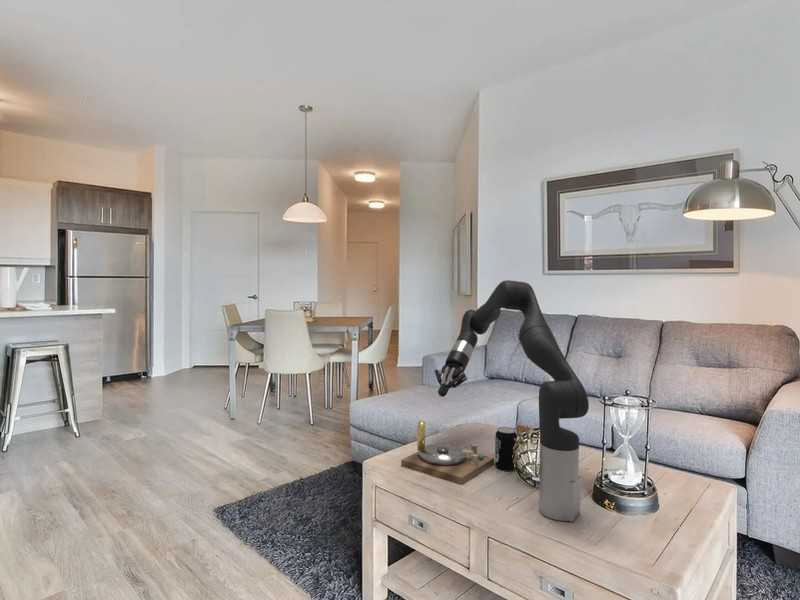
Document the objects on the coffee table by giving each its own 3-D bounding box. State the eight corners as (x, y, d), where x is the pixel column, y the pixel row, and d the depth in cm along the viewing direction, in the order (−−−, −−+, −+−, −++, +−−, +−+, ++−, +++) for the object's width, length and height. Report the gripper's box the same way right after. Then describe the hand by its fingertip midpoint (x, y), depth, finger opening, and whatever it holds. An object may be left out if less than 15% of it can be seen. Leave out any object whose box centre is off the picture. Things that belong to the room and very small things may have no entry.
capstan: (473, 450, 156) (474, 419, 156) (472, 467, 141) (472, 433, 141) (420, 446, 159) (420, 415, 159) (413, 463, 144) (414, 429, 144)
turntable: (494, 464, 150) (494, 448, 150) (462, 484, 134) (462, 467, 134) (436, 448, 164) (436, 434, 164) (401, 465, 148) (401, 450, 148)
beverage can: (511, 473, 143) (511, 434, 143) (491, 468, 147) (492, 430, 147) (519, 466, 148) (520, 429, 148) (500, 461, 152) (501, 425, 152)
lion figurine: (515, 451, 162) (515, 425, 162) (516, 446, 167) (516, 421, 167) (560, 457, 158) (560, 430, 157) (560, 451, 163) (560, 426, 162)
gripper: (440, 347, 172) (420, 386, 163) (472, 350, 164) (453, 391, 155) (447, 360, 177) (429, 398, 167) (479, 364, 169) (461, 404, 159)
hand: (441, 395), depth 161 cm, fingers closed
